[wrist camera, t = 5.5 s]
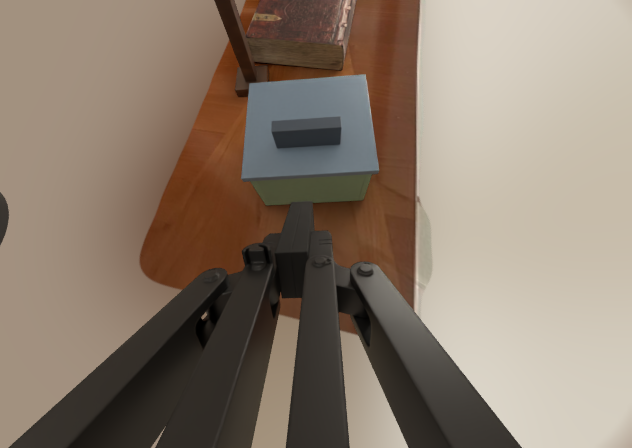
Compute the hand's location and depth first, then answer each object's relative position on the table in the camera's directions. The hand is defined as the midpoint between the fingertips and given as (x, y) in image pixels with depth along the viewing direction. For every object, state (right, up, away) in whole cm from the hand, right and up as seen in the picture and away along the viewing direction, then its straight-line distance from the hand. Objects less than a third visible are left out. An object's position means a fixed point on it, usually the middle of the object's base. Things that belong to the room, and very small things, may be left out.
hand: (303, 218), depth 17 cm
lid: (0, +13, +14) cm, 19 cm away
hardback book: (0, +45, +34) cm, 57 cm away
